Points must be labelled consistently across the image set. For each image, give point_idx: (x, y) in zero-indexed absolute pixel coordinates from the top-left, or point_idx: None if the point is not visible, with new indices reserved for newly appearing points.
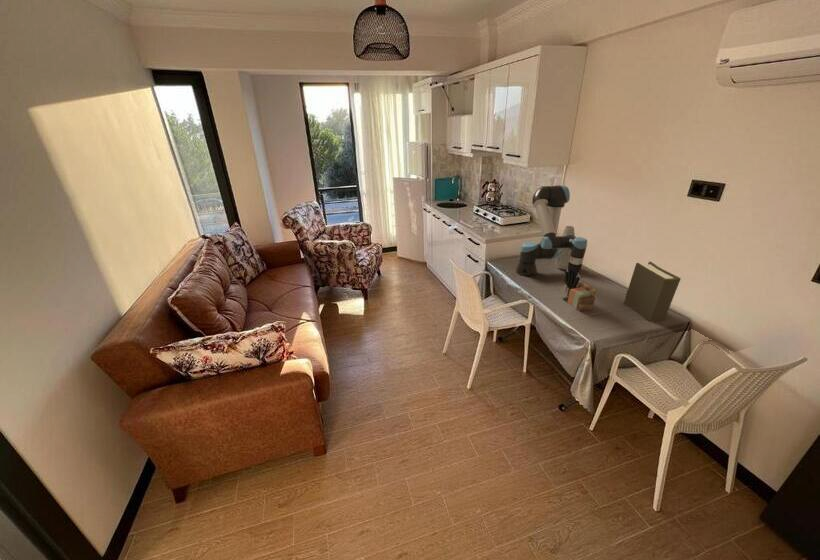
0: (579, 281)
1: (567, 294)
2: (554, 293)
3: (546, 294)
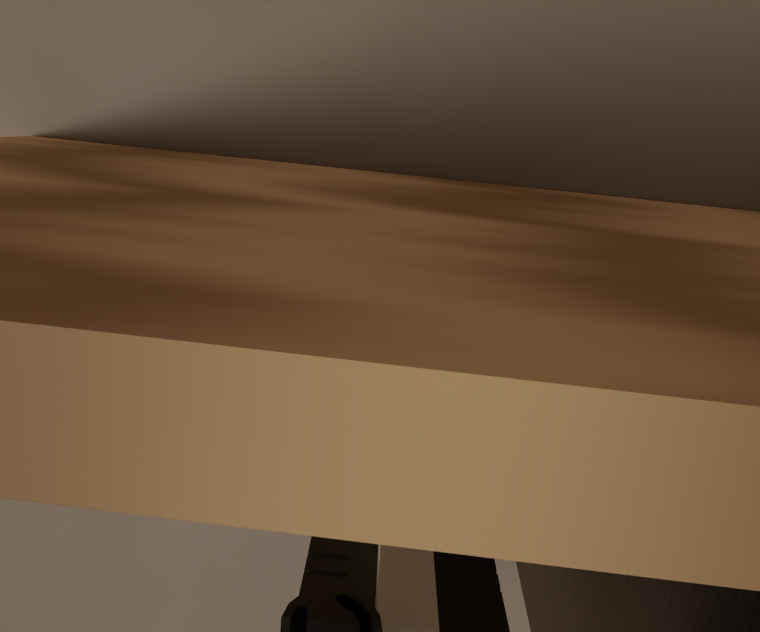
0: (657, 492)
1: None
2: None
3: (75, 622)
